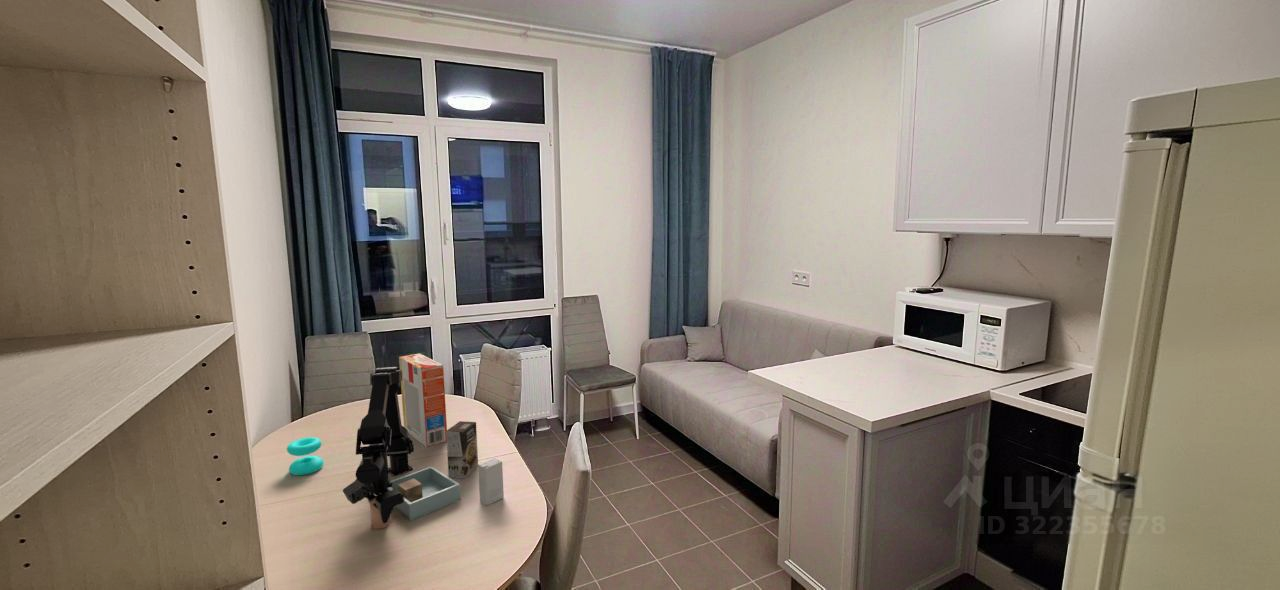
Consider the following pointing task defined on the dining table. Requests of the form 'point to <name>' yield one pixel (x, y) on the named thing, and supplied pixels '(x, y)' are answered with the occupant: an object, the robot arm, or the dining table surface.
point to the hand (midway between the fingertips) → (380, 518)
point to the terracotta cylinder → (377, 517)
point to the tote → (428, 493)
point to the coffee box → (462, 449)
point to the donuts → (305, 463)
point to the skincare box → (490, 481)
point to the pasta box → (423, 399)
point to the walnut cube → (411, 490)
